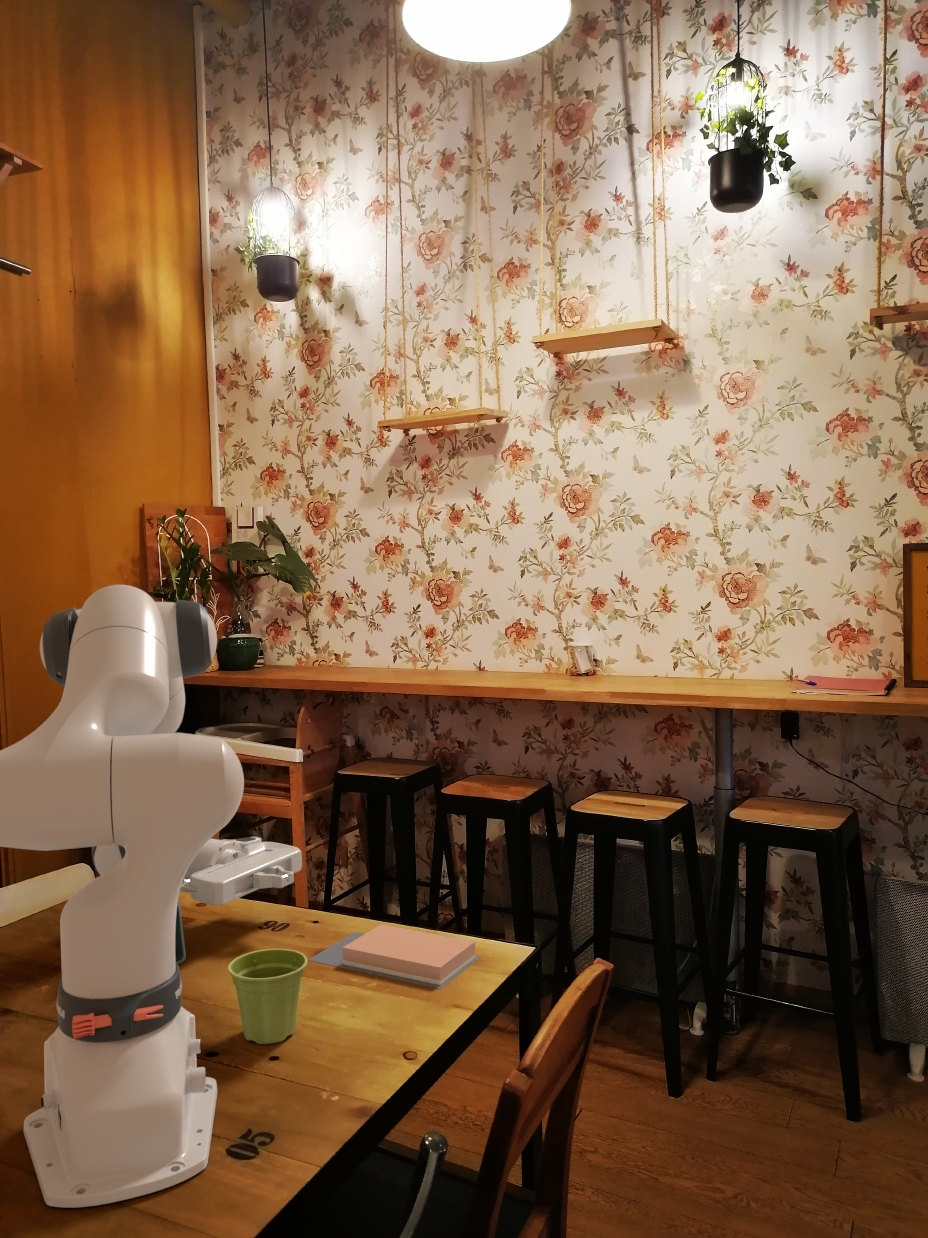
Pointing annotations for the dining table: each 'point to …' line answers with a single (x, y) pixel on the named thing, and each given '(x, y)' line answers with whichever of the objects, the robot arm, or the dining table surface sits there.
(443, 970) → the tile
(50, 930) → the dining table surface
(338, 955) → the mat
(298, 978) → the plant pot
